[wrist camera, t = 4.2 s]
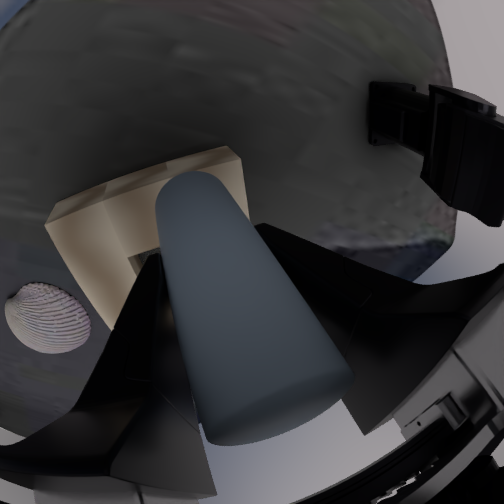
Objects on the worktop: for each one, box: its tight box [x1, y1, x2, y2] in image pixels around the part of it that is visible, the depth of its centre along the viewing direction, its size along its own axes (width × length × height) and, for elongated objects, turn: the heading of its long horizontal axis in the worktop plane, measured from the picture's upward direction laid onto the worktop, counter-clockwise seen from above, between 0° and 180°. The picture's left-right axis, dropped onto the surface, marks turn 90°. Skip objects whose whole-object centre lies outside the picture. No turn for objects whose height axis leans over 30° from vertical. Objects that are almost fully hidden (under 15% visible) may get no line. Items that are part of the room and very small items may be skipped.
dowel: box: [155, 171, 355, 446], centre depth 8 cm, size 3×3×9 cm
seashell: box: [5, 282, 91, 353], centre depth 22 cm, size 10×6×10 cm
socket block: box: [45, 146, 250, 331], centre depth 22 cm, size 14×14×4 cm
